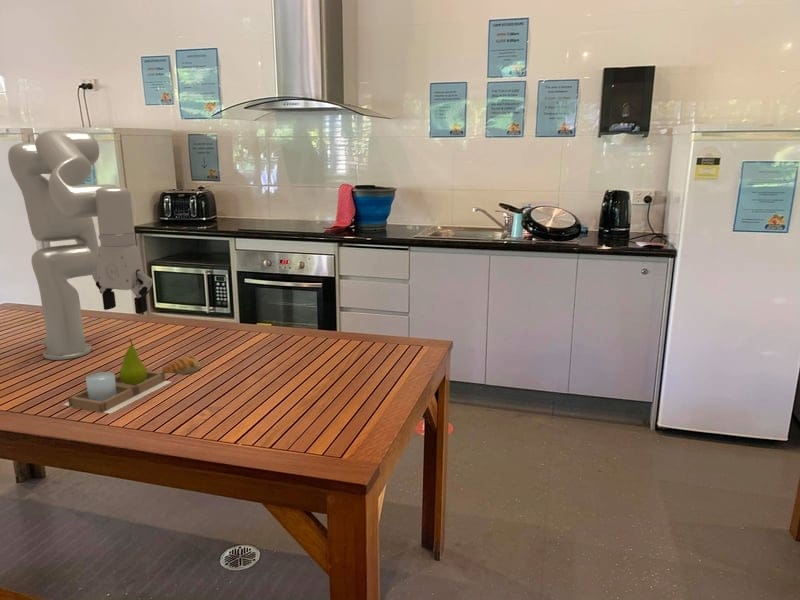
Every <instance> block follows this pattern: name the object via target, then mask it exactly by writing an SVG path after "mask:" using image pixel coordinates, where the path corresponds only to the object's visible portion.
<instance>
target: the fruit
mask: <svg viewBox="0 0 800 600" xmlns="http://www.w3.org/2000/svg"><path fill="white" fill-rule="evenodd" d="M128 340H129V341H130V344H131V345H129V347H128V349H127V350H126V352H125V354H124V358H123V361H122V364H121V365H122V366H121V367H120V371H119V373H118V375H119V376H120V380H121V381H122V382H123V383H124V384H129V385H137V384H139V383H141V382H144V381H145V380H146V378H147V371H148V369H147V367H146V365H145V364H144V363H143V362H142V360H141V358H140V357H139V355H138V352H137V350H136V348H135V346H134V344H133V341H132V339H131V338H128Z"/></svg>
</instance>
